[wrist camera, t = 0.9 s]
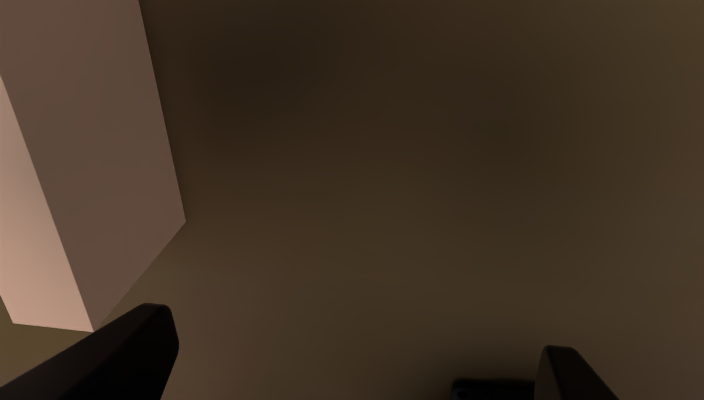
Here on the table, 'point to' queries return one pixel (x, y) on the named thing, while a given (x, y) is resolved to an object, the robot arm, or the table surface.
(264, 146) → the table surface
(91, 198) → the beige rectangular block
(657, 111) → the table surface
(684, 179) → the table surface
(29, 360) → the table surface
